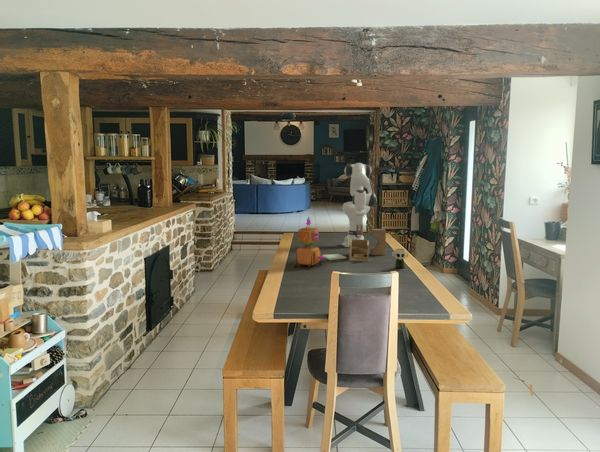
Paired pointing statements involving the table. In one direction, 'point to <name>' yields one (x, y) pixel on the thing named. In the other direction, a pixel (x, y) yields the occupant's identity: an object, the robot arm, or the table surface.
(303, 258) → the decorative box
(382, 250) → the decorative block
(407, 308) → the table surface
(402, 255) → the character mug
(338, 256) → the sage board
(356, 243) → the oak cubby
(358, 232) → the walnut block
